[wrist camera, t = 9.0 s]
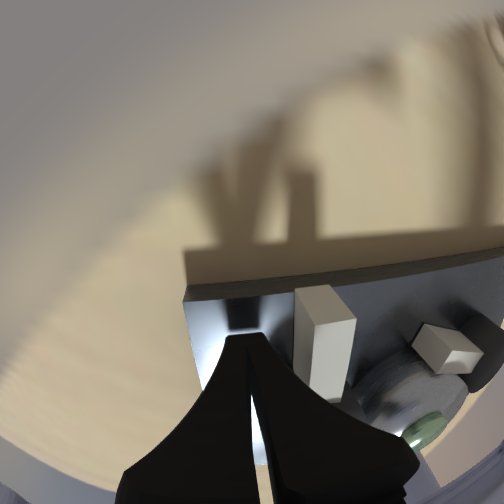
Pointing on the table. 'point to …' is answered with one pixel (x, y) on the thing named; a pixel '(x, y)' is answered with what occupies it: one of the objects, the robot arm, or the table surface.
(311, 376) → the knob
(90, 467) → the table surface
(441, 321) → the plate
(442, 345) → the knob
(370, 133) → the table surface
